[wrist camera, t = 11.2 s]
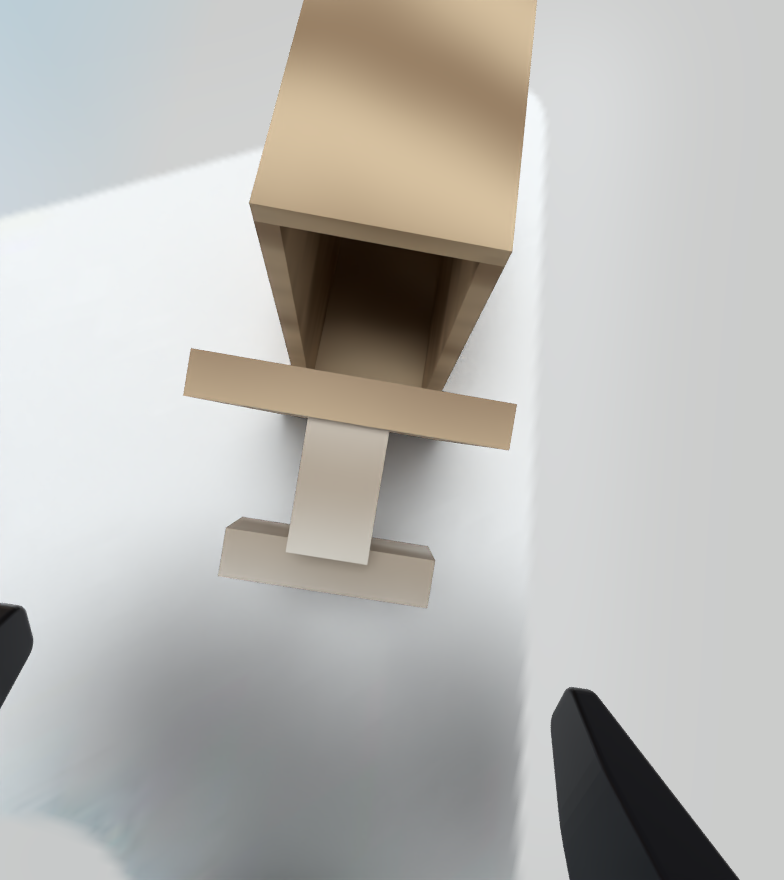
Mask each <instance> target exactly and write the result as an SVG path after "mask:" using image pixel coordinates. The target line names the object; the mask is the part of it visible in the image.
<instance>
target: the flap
mask: <svg viewBox="0 0 784 880" xmlns="http://www.w3.org/2000/svg"><path fill="white" fill-rule="evenodd" d="M183 395H184V396H189V397H194V398H199V399H205V400H210V401H215V402H220V403H226V404H231V405H236V406H242V407H247V408H252V409H257V410H263V411H268V412H273V413H278V414H284V415H290V416H296V417H302V418H308V420H307V426H306V432H305V438H304V444H303V450H302V456H301V462H300V468H299V474H298V480H297V486H296V492H295V498H294V504H293V510H292V517H291V523H290V524H284V523H278V522H271V521H265V520H259V519H253V518H246V517H241V518H240V519H238V520H237V521H235V522H234V523H232V524H231V525H229V526H228V527H226V530H225V536H224V542H223V549H222V555H221V561H220V567H219V573H218V576H220V577H227V578H233V579H240V580H246V581H253V582H259V583H266V584H272V585H279V586H285V587H292V588H298V589H305V590H311V591H318V592H324V593H331V594H337V595H344V596H350V597H357V598H363V599H370V600H376V601H383V602H389V603H396V604H402V605H409V606H415V607H422V608H427V606H428V600H429V594H430V588H431V582H432V576H433V570H434V565H435V560H434V558H433V555H432V553H431V551H430V549H429V547H428V546H423V545H416V544H410V543H404V542H397V541H391V540H385V539H378V538H372V532H373V526H374V520H375V514H376V508H377V503H378V497H379V491H380V485H381V479H382V473H383V467H384V461H385V455H386V449H387V443H388V437H389V432H391V433H397V434H403V435H409V436H415V437H421V438H427V439H433V440H439V441H446V442H454V443H461V444H468V445H475V446H483V447H490V448H497V449H504V450H509V448H510V442H511V436H512V430H513V424H514V418H515V412H516V407H517V404H512V403H506V402H500V401H495V400H489V399H483V398H477V397H471V396H465V395H460V394H454V393H448V392H442V391H436V390H431V389H425V388H419V387H413V386H407V385H401V384H396V383H390V382H384V381H378V380H372V379H367V378H361V377H355V376H349V375H343V374H337V373H332V372H326V371H320V370H314V369H308V368H303V367H297V366H291V365H285V364H279V363H274V362H268V361H262V360H256V359H250V358H244V357H239V356H233V355H227V354H221V353H215V352H210V351H204V350H198V349H192V348H191V351H190V357H189V363H188V369H187V375H186V382H185V388H184V394H183Z"/></svg>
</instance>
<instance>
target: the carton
mask: <svg viewBox="0 0 784 880" xmlns="http://www.w3.org/2000/svg"><path fill="white" fill-rule="evenodd" d="M536 5H537V0H304V1H303V5H302V9H301V13H300V16H299V20H298V23H297V27H296V31H295V35H294V39H293V42H292V46H291V49H290V53H289V57H288V61H287V64H286V68H285V72H284V76H283V79H282V83H281V87H280V90H279V94H278V98H277V101H276V105H275V109H274V113H273V116H272V120H271V124H270V128H269V131H268V135H267V138H266V142H265V146H264V149H263V153H262V157H261V161H260V164H259V168H258V172H257V175H256V179H255V183H254V187H253V190H252V194H251V198H250V201H249V204H250V208H251V212H252V216H253V220H254V224H255V227H256V231H257V235H258V239H259V243H260V247H261V251H262V254H263V258H264V262H265V266H266V270H267V274H268V278H269V281H270V285H271V289H272V293H273V297H274V301H275V305H276V308H277V312H278V316H279V320H280V324H281V328H282V332H283V335H284V339H285V343H286V347H287V351H288V355H289V359H290V362H291V366H297V367H303V368H308V369H314V370H320V371H326V372H332V373H337V374H343V375H349V376H355V377H361V378H367V379H372V380H378V381H384V382H390V383H396V384H401V385H407V386H413V387H419V388H425V389H431V390H436V391H442V389H443V388H444V386H445V384H446V382H447V380H448V378H449V376H450V374H451V372H452V370H453V368H454V366H455V364H456V362H457V360H458V358H459V356H460V354H461V352H462V350H463V348H464V346H465V344H466V342H467V340H468V338H469V336H470V334H471V332H472V330H473V328H474V326H475V324H476V322H477V320H478V318H479V316H480V314H481V312H482V310H483V308H484V306H485V304H486V302H487V300H488V298H489V296H490V294H491V292H492V291H493V289H494V287H495V285H496V283H497V281H498V279H499V277H500V275H501V273H502V271H503V269H504V267H505V265H506V263H507V261H508V259H509V257H510V255H511V253H512V249H513V239H514V229H515V218H516V208H517V198H518V188H519V178H520V168H521V158H522V147H523V137H524V127H525V117H526V107H527V97H528V87H529V76H530V66H531V56H532V45H533V35H534V25H535V16H536Z"/></svg>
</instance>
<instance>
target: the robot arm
mask: <svg viewBox="0 0 784 880" xmlns="http://www.w3.org/2000/svg"><path fill="white" fill-rule="evenodd" d="M32 646H33V636H32V632H31V628H30V624H29V621H28V617H27V613H26V610H25V609H24V608H23V607H22V606H19V605H13V604H6V603H0V708H1V706H2V705H3V703H4V701H5V699H6V697H7V695H8V694H9V692H10V690H11V688H12V686H13V684H14V683H15V681H16V679H17V677H18V675H19V673H20V672H21V670H22V668H23V666H24V664H25V662H26V660H27V659H28V657H29V655H30V653H31V650H32ZM551 738H552V748H553V758H554V769H555V779H556V790H557V801H558V812H559V821H560V829H561V835H562V841H563V847H564V852H565V858H566V863H567V868H568V873H569V879H570V880H739V878H738V877H737V876H736V874H735V873H734V872H733V871H732V869H731V868H730V867H729V865H728V864H727V863H726V861H725V860H724V859H723V858H722V856H721V855H720V854H719V853H718V851H717V850H716V849H715V847H714V846H713V845H712V843H711V842H710V841H709V839H708V838H707V837H706V836H705V834H704V833H703V832H702V830H701V829H700V828H699V827H698V825H697V824H696V823H695V821H694V820H693V819H692V818H691V816H690V815H689V814H688V812H687V811H686V810H685V809H684V807H683V806H682V805H681V803H680V802H679V801H678V799H677V798H676V797H675V796H674V794H673V793H672V792H671V790H670V789H669V788H668V786H667V785H666V784H665V783H664V781H663V780H662V779H661V777H660V776H659V775H658V774H657V772H656V771H655V770H654V768H653V767H652V766H651V765H650V763H649V762H648V761H647V759H646V758H645V757H644V755H643V754H642V753H641V752H640V750H639V749H638V748H637V746H636V745H635V744H634V743H633V741H632V740H631V739H630V737H629V736H628V735H627V733H626V732H625V731H624V730H623V728H622V727H621V726H620V724H619V723H618V722H617V721H616V719H615V718H614V717H613V715H612V714H611V713H610V711H609V710H608V709H607V708H606V706H605V705H604V704H603V703H602V701H601V700H600V699H599V697H598V696H597V695H596V694H595V693H594V692H593V691H591V690H588V689H582V688H574V687H569V688H568V689H566V690H565V692H564V694H563V696H562V698H561V699H560V701H559V703H558V705H557V707H556V709H555V711H554V713H553V715H552V719H551Z"/></svg>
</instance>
